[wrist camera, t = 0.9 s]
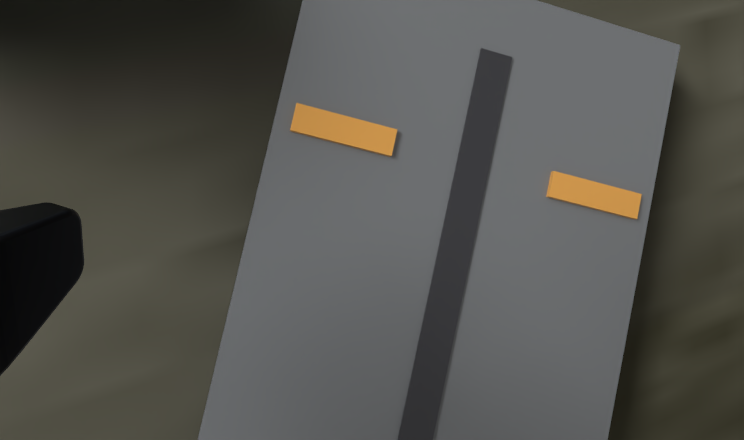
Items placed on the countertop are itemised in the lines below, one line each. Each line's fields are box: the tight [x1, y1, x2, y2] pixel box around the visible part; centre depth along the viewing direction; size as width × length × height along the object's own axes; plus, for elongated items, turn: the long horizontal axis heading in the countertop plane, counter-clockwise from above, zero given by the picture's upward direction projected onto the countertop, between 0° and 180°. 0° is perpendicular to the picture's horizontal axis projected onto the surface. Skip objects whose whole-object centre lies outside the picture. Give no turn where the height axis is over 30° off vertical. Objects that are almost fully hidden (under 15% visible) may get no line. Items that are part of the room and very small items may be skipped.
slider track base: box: [198, 0, 680, 440], centre depth 20 cm, size 23×12×2 cm, turn 167°
